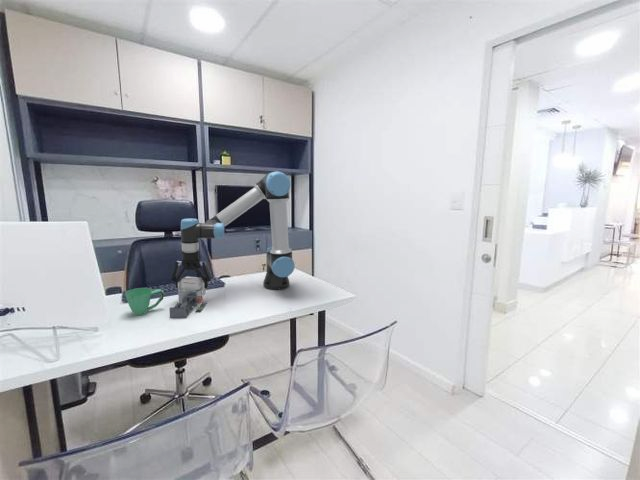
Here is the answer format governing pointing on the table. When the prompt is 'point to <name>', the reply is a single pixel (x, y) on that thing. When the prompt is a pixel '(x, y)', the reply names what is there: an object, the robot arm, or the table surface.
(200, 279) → the ink box
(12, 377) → the table surface
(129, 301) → the mug
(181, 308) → the gauge body
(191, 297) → the white branched bar piece
